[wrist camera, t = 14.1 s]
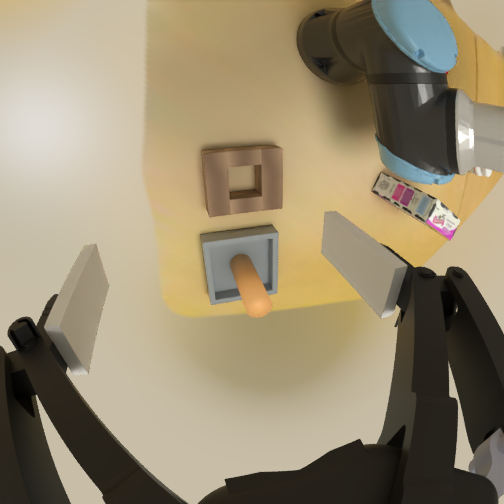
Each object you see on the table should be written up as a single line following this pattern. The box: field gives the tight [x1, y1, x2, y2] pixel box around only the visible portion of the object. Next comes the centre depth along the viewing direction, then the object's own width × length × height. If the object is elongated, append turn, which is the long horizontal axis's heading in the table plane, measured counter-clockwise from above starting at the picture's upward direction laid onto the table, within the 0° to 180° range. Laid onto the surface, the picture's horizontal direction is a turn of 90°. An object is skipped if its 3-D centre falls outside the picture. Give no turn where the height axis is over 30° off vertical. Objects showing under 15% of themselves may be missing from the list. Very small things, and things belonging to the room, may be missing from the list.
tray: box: [201, 225, 278, 305], centre depth 52 cm, size 13×13×4 cm
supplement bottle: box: [468, 167, 492, 177], centre depth 52 cm, size 5×5×10 cm
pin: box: [230, 254, 272, 318], centre depth 47 cm, size 4×4×13 cm
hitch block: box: [202, 145, 283, 217], centre depth 44 cm, size 12×10×4 cm
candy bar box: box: [372, 172, 460, 241], centre depth 48 cm, size 11×5×16 cm, turn 65°
